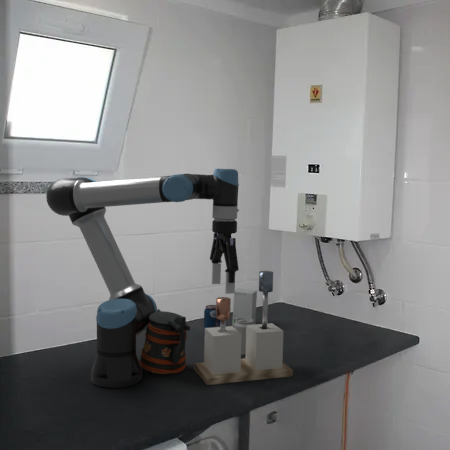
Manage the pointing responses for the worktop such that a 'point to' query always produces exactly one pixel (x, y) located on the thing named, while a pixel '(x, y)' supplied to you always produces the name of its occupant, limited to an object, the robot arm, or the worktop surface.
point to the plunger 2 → (265, 292)
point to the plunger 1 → (223, 311)
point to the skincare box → (244, 304)
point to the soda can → (210, 317)
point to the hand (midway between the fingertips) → (222, 288)
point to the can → (243, 331)
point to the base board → (241, 374)
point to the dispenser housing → (231, 348)
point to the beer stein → (165, 343)
